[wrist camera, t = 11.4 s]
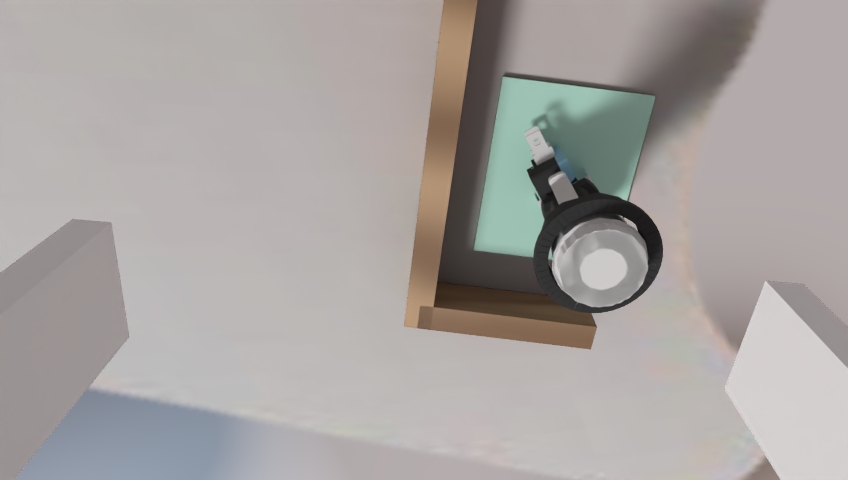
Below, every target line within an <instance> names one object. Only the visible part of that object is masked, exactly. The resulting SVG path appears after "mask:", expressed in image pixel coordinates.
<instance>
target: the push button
mask: <svg viewBox="0 0 848 480" xmlns="http://www.w3.org/2000/svg"><path fill="white" fill-rule="evenodd" d="M524 135H525V136H526V139H527V141H528V143H529V145H530V147H531V149H532V150H531V151H530V152H531V154H532V157H533V160H531V162H532V165H533V166H532V167H531V168H529V169H527V172H528V175H529V178H530V180H531V182H532V184H533V185H534V187H535V189H536V191H537V193H538V195H539V197H540V200H539V198H538V196H537V194H536V193H534V194H535V197H536V199H537V202H538V204H539V206H540V207H541V210H542V214H543V217H544V223H543V226H542V229H541V232H540V234H539V236H538V238H537V240H536V243H535V247H534V254H533V263H534V269H535V273H536V276H537V279H538V282H539V284H540V286H541V287H542V289H543V290H544V292H545V293H546V294H547V295H548V296H549V297H550V298H551V299H552V300H554V301H555V302H556V303H558V304H559V305H561V306H563V307H565V308H568V309H570V310H574V311H578V312H583V313H602V312H608V311H612V310H615V309H618V308H621V307H623V306H625V305H627V304H629V303H631V302H632V301H634V300H635V299H637V298H638V297H639V296H641V295H642V294H643V293H644V292H645V291H646V290H647V289H648V288H649V286H650V285H651V284H652V282H653V281H654V279H655V278H656V276H657V274H658V272H659V269H660V266H661V262H662V257H663V245H662V239H661V236H660V233H659V231H658V229H657V227H656V225H655V224H654V222H653V221H652V219H651V218H650V217H649V216H648V215H647V214H646V213H645V212H644V211H643V210H642V209H641V208H639V207H638V206H636V205H635V204H633V203H631V202H628V201H626V200H623V199H622V198H620V197H618V196H613V195H609V194H604V193H600V192H599V190H598V189H597V187H596V186H595V185H594V184H593V182H592V180H591V178H590V176H589V175H588V173H587V171H586V170H585V168H583V170H584V172H585V174H586V177H584V178H582V179H580V180H579V181H578V180H577V178H576V176H575V174H574V172H573V169H572V167H571V165H570V163H569V161H568V159H567V157H566V156H565V155H564V153H563V152H562V150H561V148H560V147H559V146H558V147H556V148H554V149H552V147H551V145H550V143H549V141H548V142H545V140H544V138H543V136H542V134H541V132H540V130H539V128H538V126H534V127H532V128H530V129H529V130H527V131H525V132H524ZM535 138H538V139H537V140H534V139H535ZM533 140H534V141H533ZM621 216H623V217H625V218H627V219H629V220H630V221H632V222H633V223H635V224H636V226H637V230H638V231H637V230H636V229H635V228H633V227H632V226H630V225H628V224H627V223H626V221H625V220H624V219H623V218H622V217H621ZM550 248H551V252H552V257H553V263H552V270H551V268H550V267H549V265H548V256H549V251H550Z"/></svg>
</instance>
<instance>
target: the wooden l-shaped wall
mask: <svg viewBox="0 0 848 480" xmlns="http://www.w3.org/2000/svg"><path fill="white" fill-rule="evenodd" d="M477 1H478V0H444V4H443V12H442V21H441V29H440V37H439V45H438V53H437V61H436V70H435V78H434V86H433V94H432V102H431V110H430V119H429V127H428V135H427V143H426V151H425V159H424V168H423V176H422V184H421V192H420V200H419V208H418V217H417V225H416V233H415V241H414V249H413V257H412V266H411V274H410V282H409V290H408V298H407V306H406V314H405V323H404V327H412V328H420V329H428V330H436V331H445V332H453V333H461V334H469V335H477V336H486V337H494V338H502V339H510V340H519V341H527V342H535V343H543V344H552V345H560V346H568V347H576V348H584V349H591V346H592V343H593V339H594V336H595V332H596V328H597V326H596V324H595V321H594V319H593V316H592V314H591V313H583V312H578V311H574V310H570V309H568V308H565V307H563V306H561V305H559V304H558V303H556V302H555V301H554V300H552V299H551V298H550V297H549V296H547V295H539V294H531V293H523V292H514V291H506V290H498V289H490V288H482V287H474V286H466V285H457V284H449V283H441V282H437V279H438V272H439V265H440V258H441V251H442V244H443V237H444V230H445V223H446V216H447V209H448V202H449V195H450V188H451V181H452V175H453V168H454V161H455V154H456V147H457V140H458V133H459V126H460V119H461V112H462V105H463V98H464V91H465V84H466V77H467V70H468V63H469V56H470V49H471V42H472V36H473V29H474V22H475V15H476V8H477Z"/></svg>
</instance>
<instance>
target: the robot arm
mask: <svg viewBox="0 0 848 480" xmlns="http://www.w3.org/2000/svg"><path fill="white" fill-rule="evenodd" d="M128 338H129V332H128V325H127V319H126V313H125V306H124V300H123V294H122V288H121V281H120V275H119V269H118V262H117V256H116V250H115V243H114V237H113V231H112V224H111V222H100V221H89V220H78V219H72V220H71V221H69V222H68V223H67V224H65V225H64V226H63V227H61V228H60V229H59V230H57V231H56V232H55V233H53V234H52V235H51V236H49V237H48V238H47V239H45V240H44V241H43V242H41V243H40V244H39V245H37V246H36V247H34V248H33V249H32V250H30V251H29V252H28V253H26V254H25V255H24V256H22V257H21V258H20V259H18V260H17V261H16V262H14V263H13V264H12V265H10V266H9V267H8V268H6V269H5V270H4V271H2V272H1V273H0V480H14V479H15V478H16V477H17V476H18V474H19V473H20V472H21V471H22V469H23V468H24V467H25V466H26V464H27V463H28V462H29V461H30V459H31V458H32V457H33V456H34V454H35V453H36V452H37V451H38V449H39V448H40V447H41V446H42V444H43V443H44V442H45V441H46V440H47V438H48V437H49V436H50V434H51V433H52V432H53V431H54V429H55V428H56V427H57V426H58V425H59V423H60V422H61V421H62V420H63V418H64V417H65V416H66V415H67V413H68V412H69V411H70V410H71V408H72V407H73V406H74V405H75V403H76V402H77V401H78V400H79V398H80V397H81V396H82V395H83V393H84V392H85V391H86V390H87V389H88V387H89V386H90V385H91V384H92V382H93V381H94V380H95V379H96V377H97V376H98V375H99V374H100V372H101V371H102V370H103V369H104V367H105V366H106V365H107V364H108V362H109V361H110V360H111V359H112V357H113V356H114V355H115V354H116V352H117V351H118V350H119V349H120V347H121V346H122V345H123V344H124V342H125V341H126V340H127V339H128ZM725 391H726V392H727V394H728V395H729V397H730V399H731V400H732V402H733V403H734V405H735V407H736V408H737V410H738V412H739V413H740V415H741V416H742V418H743V420H744V421H745V423H746V425H747V426H748V428H749V429H750V431H751V433H752V434H753V436H754V437H755V439H756V441H757V442H758V444H759V446H760V447H761V449H762V450H763V452H764V454H765V455H766V457H767V458H768V460H769V462H770V463H771V465H772V467H773V468H774V470H775V471H776V473H777V475H778V476H779V478H780V479H781V480H848V327H847V325H845V324H844V323H843V322H842V321H841V320H840V319H839V318H838V317H837V316H836V315H835V314H834V313H833V312H832V311H831V310H830V309H829V308H828V307H826V305H825V304H824V303H823V302H822V301H821V300H820V299H819V298H817V297H816V296H815V295H814V294H813V293H812V292H811V291H810V290H809V289H808V288H807V287H806V286H805V285H804V284H797V283H787V282H786V283H785V282H775V281H765V283H764V286H763V289H762V292H761V294H760V297H759V299H758V302H757V305H756V307H755V310H754V312H753V315H752V318H751V320H750V323H749V326H748V328H747V331H746V334H745V336H744V339H743V342H742V344H741V347H740V349H739V352H738V355H737V357H736V360H735V362H734V365H733V368H732V370H731V373H730V376H729V378H728V381H727V384H726V386H725Z"/></svg>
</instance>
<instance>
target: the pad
mask: <svg viewBox="0 0 848 480" xmlns="http://www.w3.org/2000/svg"><path fill="white" fill-rule="evenodd" d="M655 97H656V96H654V95H646V94H639V93H631V92H623V91H615V90H607V89H599V88H591V87H584V86H576V85H568V84H560V83H552V82H544V81H536V80H528V79H521V78H513V77H505V76H503V77H502V83H501V89H500V95H499V101H498V107H497V113H496V119H495V125H494V131H493V137H492V143H491V149H490V155H489V160H488V166H487V172H486V178H485V184H484V190H483V196H482V202H481V208H480V214H479V220H478V226H477V232H476V238H475V244H474V250H477V251H485V252H493V253H501V254H509V255H517V256H525V257H533V254H534V247H535V243H536V240H537V238H538V236H539V234H540V232H541V229H542V226H543V223H544V217H543V214H542V210H541V207H540V206H539V204H538V202H537V199H536V197H535V194H534V193H536V194H537V196H538V198H539V200H540V197H539V195H538V193H537V191H536V189H535V187H534V185H533V184H532V182H531V180H530V178H529V175H528V172H527V169H529V168H531V167H532V166H533V165H532V162H531V160H533V157H532V154H531V152H530V151H531V150H532V149H531V147H530V145H529V143H528V141H527V139H526V136H525V135H524V132H525V131H527V130H529V129H530V128H532V127H534V126H538V128H539V130H540V132H541V134H542V136H543V138H544V140H545V142H548V141H549V143H550V145H551V147H552V149H554V148H556V147H558V146H559V147H560V148H561V150H562V152H563V153H564V155H565V156H566V157H567V159H568V161H569V163H570V165H571V167H572V169H573V172H574V174H575V176H576V178H577V180H578V181H579V180H580V179H582V178H584V177H586V174H585V172H584V170H583V168H585V170H586V171H587V173H588V175H589V176H590V178H591V180H592V182H593V184H594V185H595V186H596V187H597V189H598V190H599V192H600V193H604V194H609V195H613V196H618V197H620V198H622V199H623V200H626V201H627V199H628V196H629V192H630V189H631V185H632V181H633V178H634V174H635V170H636V167H637V163H638V159H639V156H640V152H641V148H642V145H643V141H644V138H645V134H646V130H647V127H648V123H649V119H650V116H651V112H652V108H653V105H654V101H655ZM537 139H538V138H535V139H534V140H537ZM534 140H533V141H534ZM621 217H622V218H623V216H621ZM548 259H550V260H553V257H552V252H551V248H550V251H549V256H548Z"/></svg>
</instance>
